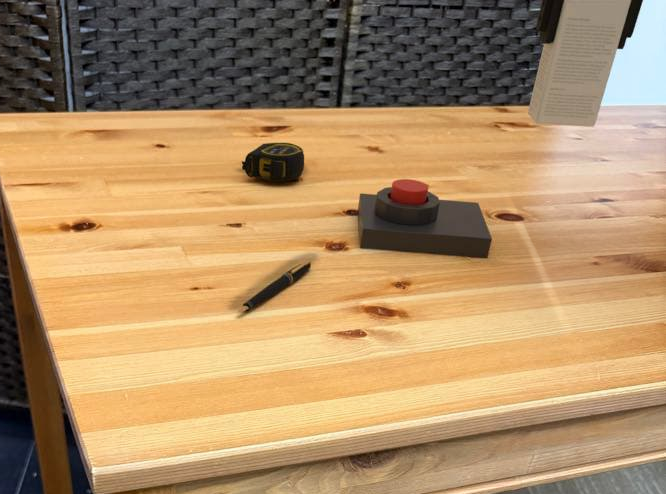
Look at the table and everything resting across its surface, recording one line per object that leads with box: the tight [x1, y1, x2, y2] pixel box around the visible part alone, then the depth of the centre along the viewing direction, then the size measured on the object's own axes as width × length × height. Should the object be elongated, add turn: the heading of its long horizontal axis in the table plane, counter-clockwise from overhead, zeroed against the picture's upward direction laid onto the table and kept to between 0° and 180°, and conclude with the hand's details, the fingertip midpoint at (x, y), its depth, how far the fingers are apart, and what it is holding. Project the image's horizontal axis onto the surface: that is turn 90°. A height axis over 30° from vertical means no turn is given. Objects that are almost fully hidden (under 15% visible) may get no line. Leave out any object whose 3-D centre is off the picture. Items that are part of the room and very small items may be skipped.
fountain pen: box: [236, 260, 312, 314], centre depth 79 cm, size 14×1×2 cm, turn 149°
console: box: [357, 186, 493, 259], centre depth 92 cm, size 14×11×4 cm
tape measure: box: [241, 142, 305, 183], centre depth 103 cm, size 7×7×4 cm
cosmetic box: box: [527, 0, 631, 128], centre depth 79 cm, size 6×4×12 cm
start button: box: [390, 178, 429, 205], centre depth 90 cm, size 4×4×2 cm
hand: (580, 41), depth 78 cm, fingers closed on cosmetic box, 6 cm apart
